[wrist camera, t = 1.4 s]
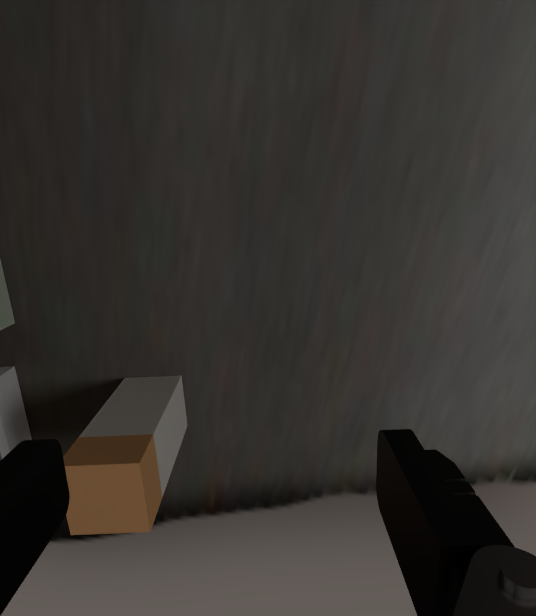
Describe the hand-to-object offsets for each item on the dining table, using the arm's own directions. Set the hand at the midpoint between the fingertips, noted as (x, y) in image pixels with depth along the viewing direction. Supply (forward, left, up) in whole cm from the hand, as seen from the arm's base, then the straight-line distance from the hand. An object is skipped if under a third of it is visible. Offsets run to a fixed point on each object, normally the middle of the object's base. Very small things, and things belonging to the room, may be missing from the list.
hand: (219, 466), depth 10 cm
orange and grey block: (+11, -9, -24) cm, 28 cm away
